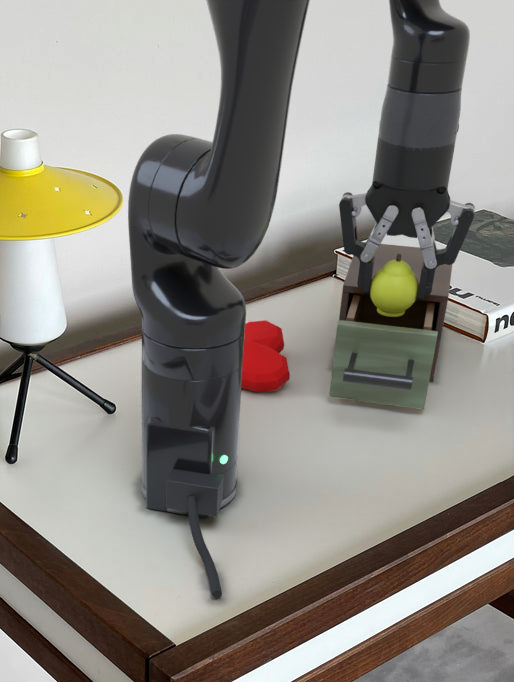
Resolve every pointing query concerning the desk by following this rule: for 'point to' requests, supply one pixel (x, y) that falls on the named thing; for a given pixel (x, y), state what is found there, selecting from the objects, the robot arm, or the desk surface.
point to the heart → (263, 357)
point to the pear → (394, 288)
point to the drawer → (384, 354)
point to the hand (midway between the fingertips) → (393, 294)
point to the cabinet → (415, 262)
